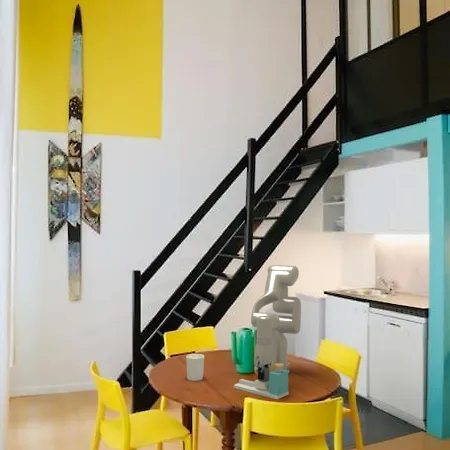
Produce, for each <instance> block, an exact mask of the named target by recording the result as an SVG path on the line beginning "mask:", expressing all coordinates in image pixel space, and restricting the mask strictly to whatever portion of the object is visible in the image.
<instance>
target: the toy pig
mask: <svg viewBox="0 0 450 450" xmlns="http://www.w3.org/2000/svg"><path fill="white" fill-rule="evenodd" d="M260 367H261V366H260ZM253 369H254V373H255V375H257V376H258V371H257V369H256V368H255V367H254V368H253ZM275 369H276V367H274V363H273V362H272V363H271V365H270V369H269V373H270V372H273V371H275Z"/></svg>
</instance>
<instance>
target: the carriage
mask: <svg viewBox="0 0 450 450" xmlns="http://www.w3.org/2000/svg"><path fill="white" fill-rule="evenodd" d="M263 372H264V380H260V379H258V378H257V379H256V380H254V381H253V382H254V385H256V388H260V389H264V390H267V386H269V368H266V367H264V368H263Z"/></svg>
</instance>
